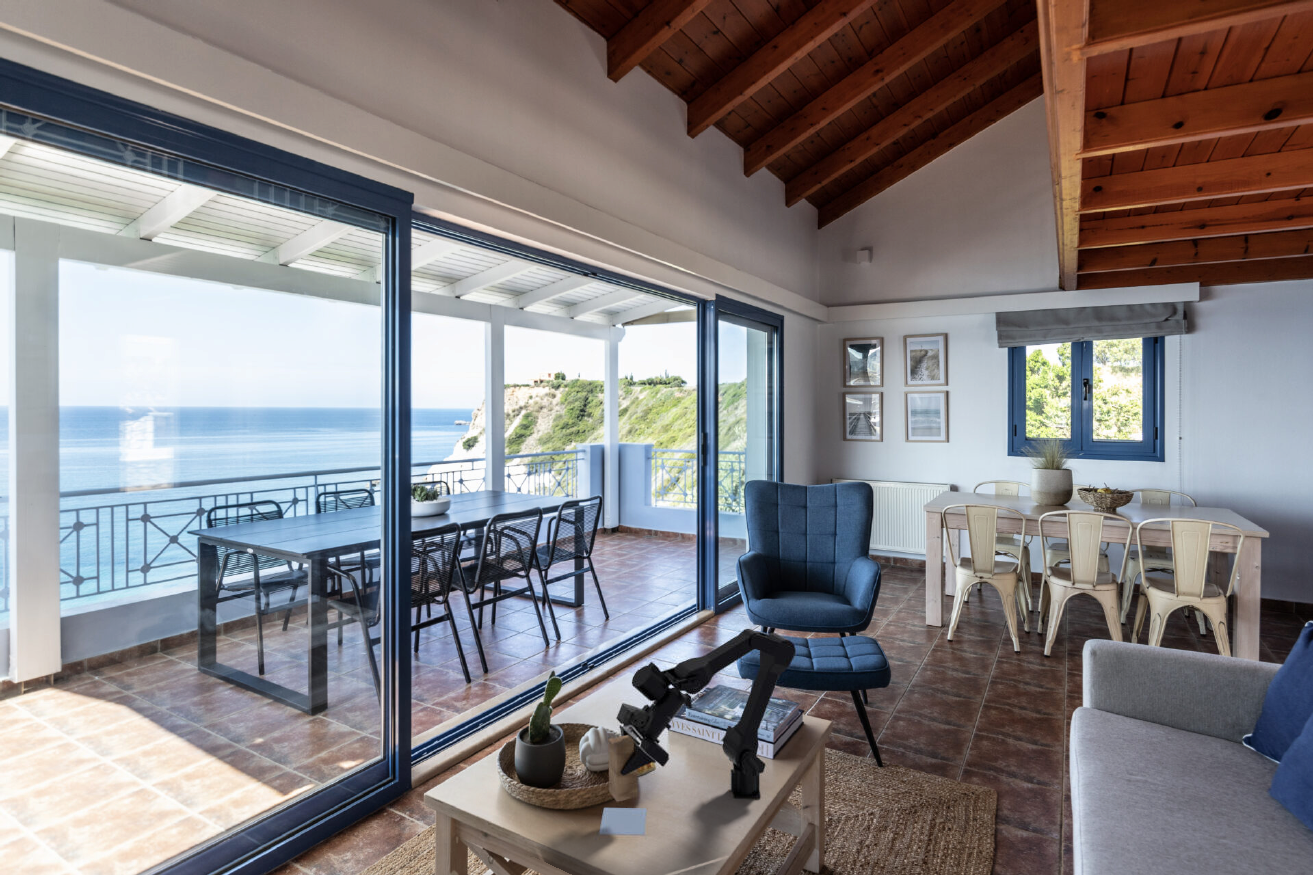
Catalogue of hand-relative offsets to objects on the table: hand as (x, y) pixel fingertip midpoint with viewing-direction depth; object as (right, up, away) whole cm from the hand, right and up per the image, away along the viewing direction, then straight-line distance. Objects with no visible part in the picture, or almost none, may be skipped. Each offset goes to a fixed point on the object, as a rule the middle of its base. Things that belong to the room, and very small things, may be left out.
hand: (617, 768), depth 156 cm
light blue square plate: (+1, -13, +1) cm, 13 cm away
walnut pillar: (+1, -6, +1) cm, 6 cm away
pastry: (+4, -12, +24) cm, 27 cm away
